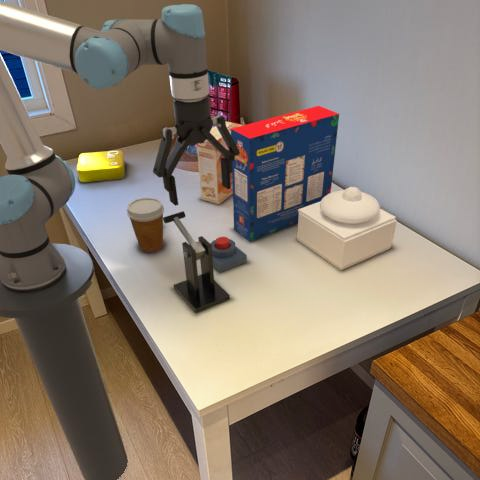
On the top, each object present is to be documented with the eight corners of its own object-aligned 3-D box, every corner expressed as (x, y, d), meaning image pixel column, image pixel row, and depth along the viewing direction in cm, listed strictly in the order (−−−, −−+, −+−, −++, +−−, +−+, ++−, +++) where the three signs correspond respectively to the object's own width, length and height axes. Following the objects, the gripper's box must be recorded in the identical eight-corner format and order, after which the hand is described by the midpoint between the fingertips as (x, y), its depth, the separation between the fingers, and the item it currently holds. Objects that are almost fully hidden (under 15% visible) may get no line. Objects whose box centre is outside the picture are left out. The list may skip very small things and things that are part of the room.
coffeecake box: (219, 204, 147) (215, 140, 134) (199, 199, 150) (194, 136, 137) (244, 185, 156) (243, 124, 144) (226, 180, 159) (223, 120, 147)
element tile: (81, 165, 171) (78, 151, 168) (124, 161, 173) (122, 147, 170) (79, 183, 160) (75, 169, 157) (125, 179, 162) (122, 165, 159)
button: (213, 245, 123) (212, 239, 122) (225, 241, 125) (224, 235, 123) (220, 251, 121) (219, 245, 120) (232, 247, 122) (232, 241, 121)
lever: (162, 222, 111) (163, 214, 109) (182, 215, 113) (182, 208, 111) (190, 262, 106) (190, 255, 104) (210, 255, 108) (211, 248, 106)
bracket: (173, 288, 116) (166, 238, 107) (206, 276, 119) (202, 227, 110) (195, 313, 109) (190, 262, 100) (230, 299, 112) (227, 248, 103)
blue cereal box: (310, 201, 147) (318, 105, 129) (328, 211, 142) (339, 113, 124) (234, 229, 136) (230, 128, 117) (250, 241, 131) (249, 138, 112)
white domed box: (341, 270, 120) (349, 212, 109) (295, 239, 131) (299, 184, 121) (391, 248, 127) (403, 191, 117) (344, 220, 138) (351, 166, 128)
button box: (200, 254, 127) (199, 241, 124) (226, 244, 130) (225, 231, 127) (219, 272, 120) (219, 259, 118) (246, 262, 123) (246, 249, 121)
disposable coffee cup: (176, 243, 131) (171, 202, 123) (152, 259, 125) (145, 218, 117) (150, 233, 135) (143, 193, 127) (126, 249, 129) (117, 208, 122)
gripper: (140, 114, 90) (158, 217, 104) (253, 89, 99) (255, 186, 113) (125, 104, 95) (144, 203, 109) (234, 81, 104) (238, 175, 118)
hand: (200, 194), depth 111 cm, fingers open, 13 cm apart
